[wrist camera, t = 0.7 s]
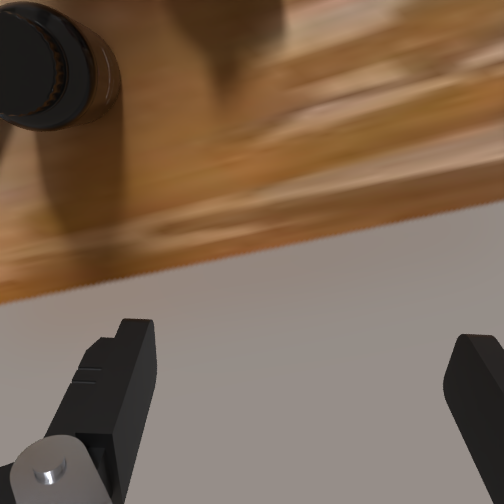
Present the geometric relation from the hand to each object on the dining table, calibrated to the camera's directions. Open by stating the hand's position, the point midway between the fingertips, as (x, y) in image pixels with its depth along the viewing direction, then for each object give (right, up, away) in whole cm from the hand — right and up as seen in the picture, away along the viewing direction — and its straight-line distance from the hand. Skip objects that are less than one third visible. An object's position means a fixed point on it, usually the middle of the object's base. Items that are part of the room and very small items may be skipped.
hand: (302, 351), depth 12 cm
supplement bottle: (-14, +16, +21) cm, 30 cm away
